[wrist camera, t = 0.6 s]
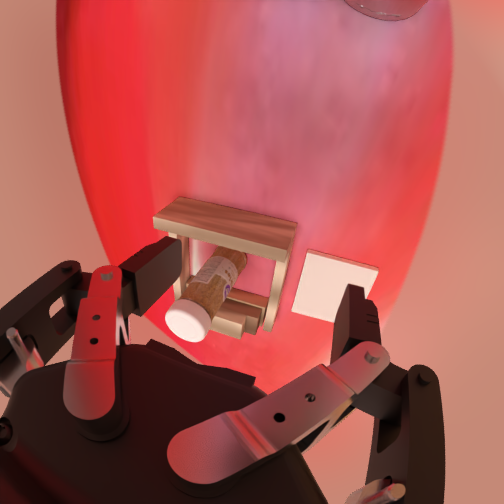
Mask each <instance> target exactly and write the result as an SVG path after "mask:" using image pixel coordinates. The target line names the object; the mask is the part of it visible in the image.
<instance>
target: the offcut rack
mask: <svg viewBox="0 0 504 504" xmlns="http://www.w3.org/2000/svg"><path fill="white" fill-rule="evenodd" d="M153 222H154V228H155V229H159V230H163V231H166V232H169V237H172V238H176V239H180V240H181V242H182V271H181V274H180V276H179V278H178V279H177V280H176V281H175V282H174V283H173V286H174V294H175V301H177V299H179V298H180V296H181V295H182V294H183V292H184V291H185V290H186V288H187V287H188V285H189V284H190V282H191V281H192V280H193V278H194V277H195V276H193V275H192V276H191V278H190V266H189V240H188V237H189V238H193V239H196V240H200V241H204V242H208V243H211V244H215V245H219V246H223V247H226V248H230V249H234V250H238V251H241V252H245V253H249V254H253V255H256V256H260V257H264V258H268V259H272V260H275V261H276V266H275V272H274V277H273V282H272V287H271V292H270V297H269V298H266V297H263V296H259V295H256V294H252V293H249V292H245V291H242V290H238V289H235V288H232V289H231V290H230V292H229V294H228V295H227V297H226V299H225V301H224V302H223V303H222V304H221V306H220V308H219V310H218V311H217V313H216V315H215V317H214V318H213V320H212V323H211V327H210V330H213V331H216V332H219V333H222V334H225V335H228V336H231V337H234V338H237V339H241V337H242V335H243V333H244V332H246V333H250V334H253V335H255V334H256V332H257V329H258V327H259V326H262V324H263V322H264V319H265V322H264V327H263V330H265V331H268V332H271V331H272V328H273V325H274V322H275V320H276V316H277V312H278V308H279V304H280V299H281V295H282V291H283V287H284V282H285V278H286V273H287V269H288V265H289V260H290V255H291V251H292V246H293V242H294V237H295V232H296V227H297V223H294V222H290V221H286V220H282V219H278V218H274V217H270V216H265V215H261V214H257V213H253V212H248V211H244V210H240V209H235V208H231V207H226V206H222V205H217V204H212V203H208V202H203V201H198V200H193V199H189V198H184V197H179V198H177V199H176V200H174V201H173V202H172V203H170V204H169V205H168V206H166V207H165V208H164V209H162V210H161V211H160V212H158V213H157V214H156V215H155V216H153Z"/></svg>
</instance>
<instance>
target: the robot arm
mask: <svg viewBox="0 0 504 504" xmlns="http://www.w3.org/2000/svg"><path fill="white" fill-rule="evenodd" d="M345 1H346V2H347V3H348V4H349V5H350V6H352V7H353V8H355V9H356V10H357V11H359V12H361V13H363V14H365V15H368V16H371V17H374V18H377V19H382V20H392V21H396V20H403V19H406V18H409V17H411V16H413V15H414V14H415V13H417V12H418V11H419V9H420V8H421V7H422V6H423V5H424V4H425V3H426V2H427V1H428V0H345ZM181 271H182V242H181V240H180V239H176V238H172V237H169V236H165V237H164V238H162V239H161V240H160V241H158V242H157V243H153V244H151V245H148V246H145V247H144V248H143V249H141V250H140V251H139V252H137V253H136V254H134V256H131V257H130V258H129V259H127V260H126V261H124V262H123V263H122V264H120V265H119V266H118V267H117V266H113V265H107V266H102V267H99V268H97V269H96V270H95V271H94V272H93V273H86V272H82V271H81V266H80V263H79V262H77V261H73V260H69V261H64V262H62V263H60V264H58V265H57V266H55V267H54V268H52V269H51V270H50V271H48V272H47V273H46V274H44V275H43V276H42V277H40V278H39V279H37V281H35V282H34V283H32V284H31V285H30V286H29V287H27V288H26V289H24V290H23V291H22V292H21V293H19V294H18V295H17V296H16V297H14V298H13V299H12V300H11V301H9V302H8V303H7V304H6V305H5V306H4V307H2V308H1V309H0V390H1V391H2V393H3V394H4V395H5V396H7V397H10V399H9V402H8V405H7V407H6V409H5V411H4V413H3V415H2V417H1V418H0V504H328V502H327V500H326V498H325V497H324V495H323V493H322V491H321V489H320V487H319V486H318V484H317V482H316V480H315V479H314V476H313V475H312V473H311V471H310V469H309V467H308V465H307V463H306V461H305V460H304V458H303V456H302V454H304V453H305V452H306V451H308V450H309V449H310V448H312V447H313V446H314V445H315V444H317V443H318V442H319V441H320V440H321V439H322V438H323V437H324V436H325V435H326V434H328V433H329V432H330V431H331V430H332V429H334V428H335V427H336V426H337V425H338V424H340V423H341V422H342V421H343V420H344V419H345V418H346V417H348V416H349V415H350V414H351V413H352V412H353V411H354V410H355V409H359V410H362V411H363V412H365V413H368V414H370V415H372V416H374V417H375V418H374V428H373V437H372V445H371V453H370V459H369V465H368V471H367V477H366V483H365V486H363V487H362V488H360V489H358V490H356V491H354V492H353V493H352V494H350V496H349V497H348V498H347V500H346V502H345V504H443V503H444V490H445V489H444V488H445V436H444V422H443V411H442V402H441V393H440V386H439V380H438V377H437V375H436V374H435V372H434V371H433V370H432V369H430V368H429V367H427V366H424V365H414V366H412V367H411V368H410V369H409V371H407V370H405V369H402V368H400V367H398V366H396V365H394V364H392V363H391V362H390V356H389V353H388V352H387V350H386V349H385V348H384V347H383V346H382V345H381V335H380V327H379V318H378V311H377V307H376V306H375V304H374V303H373V301H372V300H368V299H365V291H364V287H361V286H357V285H353V284H349V283H348V284H347V286H346V289H345V292H344V294H343V297H342V300H341V303H340V305H339V308H338V311H337V314H336V317H335V322H334V331H333V342H332V351H331V360H330V365H329V366H328V367H326V366H325V365H324V364H319V365H317V366H316V367H314V368H313V369H311V370H309V371H308V372H306V373H305V374H303V375H301V376H300V377H298V378H296V379H295V380H293V381H291V382H290V383H288V384H286V385H285V386H283V387H281V388H280V389H278V390H276V391H274V392H273V393H271V394H269V395H267V394H266V393H265V392H263V391H262V390H261V389H259V388H258V387H256V386H254V382H255V378H256V377H254V376H250V375H247V374H244V373H241V372H238V371H235V370H231V369H228V368H222V367H214V366H207V365H201V364H197V363H195V362H193V361H192V360H190V359H189V358H187V357H186V356H184V355H183V354H181V353H180V352H179V351H177V350H175V349H174V348H172V347H169V346H167V345H165V344H162V343H160V342H157V341H155V340H153V339H150V341H149V342H148V343H147V344H146V345H139V344H131V342H130V341H131V340H130V319H129V315H130V314H131V313H134V314H136V315H138V316H140V317H141V316H142V315H143V314H144V313H145V312H146V311H147V310H148V309H149V308H150V307H151V306H152V305H153V304H154V303H155V302H156V301H157V300H158V299H159V298H160V297H161V296H162V295H163V294H164V293H165V292H166V291H167V290H168V289H169V288H170V286H171V285H172V284H173V283H174V282H175V281H176V280H177V279H178V278H179V276H180V274H181ZM60 297H62V300H63V303H64V307H63V308H61V309H60V310H59V311H58V312H57V313H56V314H55V315H54V316H53V317H52V318H50V315H49V309H50V306H51V305H52V304H53V303H54V302H55V301H56V300H57V299H58V298H60ZM73 335H74V340H73V347H72V354H71V359H70V360H67V361H63V362H59V363H55V364H51V365H48V366H45V365H46V363H47V362H48V361H49V360H50V359H51V358H52V357H53V356H54V355H55V354H56V353H57V352H58V351H59V349H60V348H61V347H62V346H63V345H64V344H65V343H66V342H67V341H68V340H69V339H70V338H71V337H72V336H73Z"/></svg>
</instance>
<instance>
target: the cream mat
mask: <svg viewBox="0 0 504 504" xmlns="http://www.w3.org/2000/svg"><path fill="white" fill-rule="evenodd" d="M378 272H379V270H378V268H377V267H374V266H370V265H366V264H363V263H359V262H355V261H351V260H348V259H344V258H340V257H336V256H333V255H329V254H325V253H321V252H318V251H314V250H310V249H308V251H307V255H306V259H305V263H304V267H303V271H302V274H301V278H300V282H299V285H298V289H297V293H296V296H295V300H294V303H293V307H292V310H291V311H292V312H296V313H299V314H303V315H307V316H311V317H315V318H318V319H322V320H326V321H330V322H335V317H336V314H337V311H338V308H339V305H340V303H341V300H342V297H343V294H344V292H345V289H346V286H347V284H348V283H349V284H353V285H357V286H361V287H364V291H365V299H366V298H367V296H368V294H369V292H370V290H371V288H372V285H373V283H374V281H375V279H376V277H377V274H378Z"/></svg>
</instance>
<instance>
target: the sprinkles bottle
mask: <svg viewBox="0 0 504 504" xmlns="http://www.w3.org/2000/svg"><path fill="white" fill-rule="evenodd" d="M246 263H247V258H246V255H245V253H244V252H241V251H238V250H234V249H230V248H226V247H223V246H218V247H217V248H216V250H215V252H214V253H213V255H212V256H211V257H210V258H209V259H208V260H207V261H206V263H205V264H204V265H203V267H202V268H201V269H200V271H199V272H198V273H197V274H196V276H195V277H194V278H193V280H192V281H191V282H190V284H189V285H188V287H187V288H186V290H185V291H184V292H183V294H182V295H181V296H180V298H179V299H177V301H175V302H174V303H173V304H172V306H171V307H170V308H169V310H168V311H167V313H166V315H165V320H166V323H167V325H168V327H169V328H170V329H171V331H172V332H173V333H175V334H176V335H177V336H179V337H180V338H182V339H184V340H187V341H190V342H199V341H201V340H203V339H204V337H205V336H206V334H207V333H208V331H209V329H210V327H211V323H212V320H213V318H214V317H215V315H216V313H217V311H218V310H219V308H220V306H221V304H222V303H223V302H224V301H225V299H226V297H227V295H228V294H229V292H230V290H231V289H232V287H233V285H234V284H235V282H236V280H237V278H238V276H239V274H240V273H241V271H242V270H243V269H244V268H245V266H246Z"/></svg>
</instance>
